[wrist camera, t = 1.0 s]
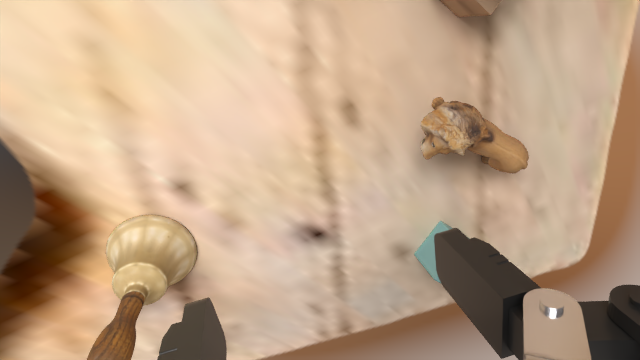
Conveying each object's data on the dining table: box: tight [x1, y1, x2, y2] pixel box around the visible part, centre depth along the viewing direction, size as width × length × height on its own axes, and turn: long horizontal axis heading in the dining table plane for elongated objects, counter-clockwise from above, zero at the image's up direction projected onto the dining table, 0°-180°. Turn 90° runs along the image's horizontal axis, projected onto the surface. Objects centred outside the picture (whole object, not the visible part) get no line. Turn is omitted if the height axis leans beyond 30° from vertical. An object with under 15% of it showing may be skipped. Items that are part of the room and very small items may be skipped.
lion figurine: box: [421, 97, 529, 173], centre depth 34 cm, size 15×5×9 cm, turn 72°
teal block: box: [414, 221, 468, 283], centre depth 42 cm, size 5×5×5 cm
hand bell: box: [87, 215, 197, 360], centre depth 29 cm, size 8×8×16 cm
